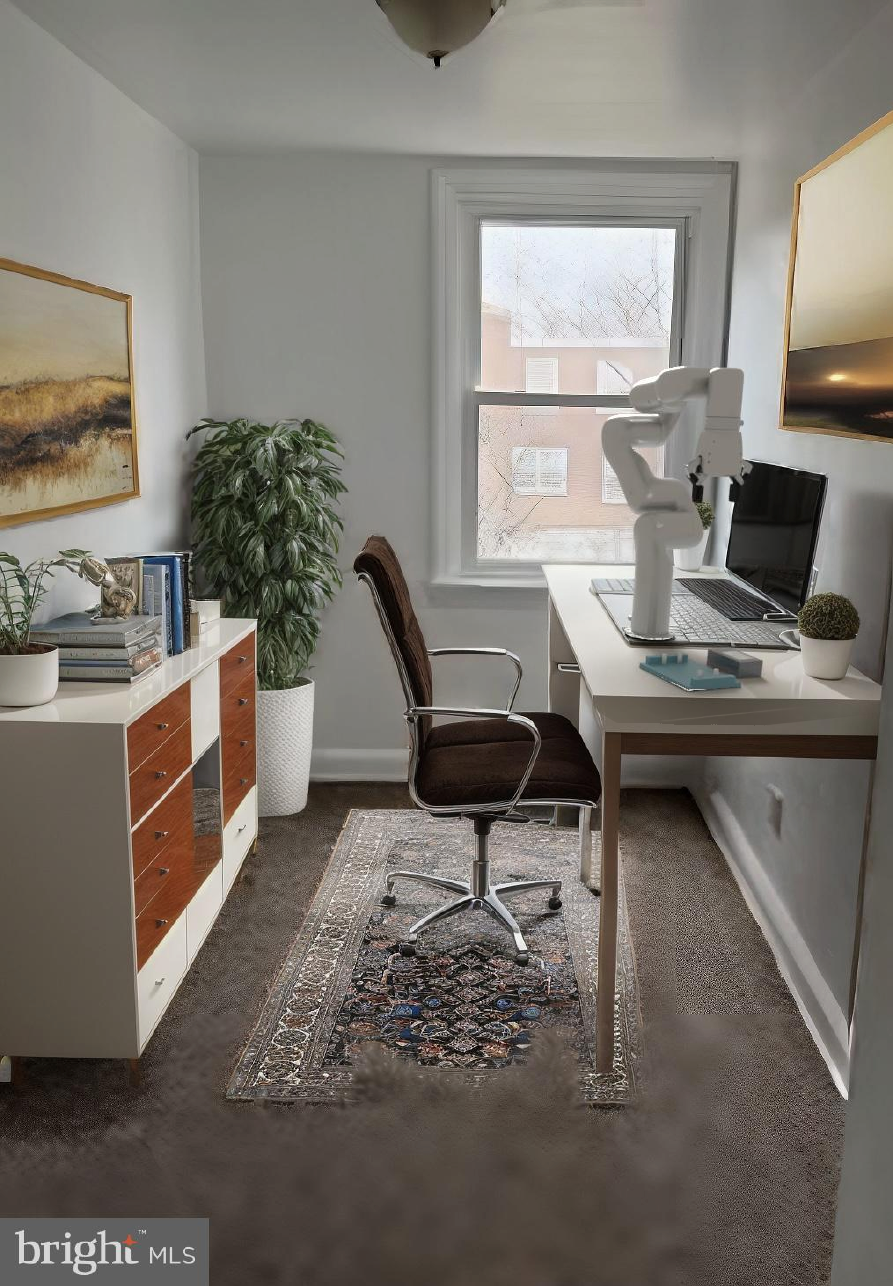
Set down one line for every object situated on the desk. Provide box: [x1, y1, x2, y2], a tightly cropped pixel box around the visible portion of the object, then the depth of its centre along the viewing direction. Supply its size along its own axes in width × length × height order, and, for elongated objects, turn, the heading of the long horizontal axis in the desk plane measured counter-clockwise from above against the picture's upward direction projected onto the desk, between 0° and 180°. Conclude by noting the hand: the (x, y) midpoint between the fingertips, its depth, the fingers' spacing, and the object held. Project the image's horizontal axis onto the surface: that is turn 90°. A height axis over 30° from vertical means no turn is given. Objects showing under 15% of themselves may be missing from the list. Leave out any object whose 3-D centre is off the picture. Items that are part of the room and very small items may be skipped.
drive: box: [706, 647, 764, 680], centre depth 234 cm, size 12×6×4 cm, turn 21°
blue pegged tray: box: [639, 651, 742, 690], centre depth 228 cm, size 20×13×4 cm, turn 20°
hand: (715, 502), depth 235 cm, fingers open, 9 cm apart
